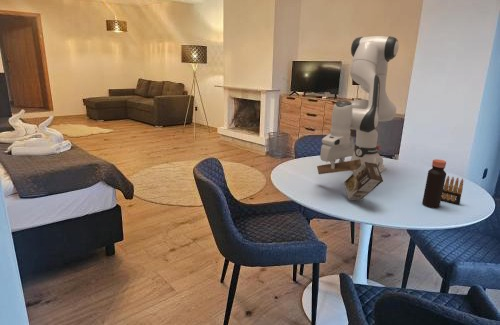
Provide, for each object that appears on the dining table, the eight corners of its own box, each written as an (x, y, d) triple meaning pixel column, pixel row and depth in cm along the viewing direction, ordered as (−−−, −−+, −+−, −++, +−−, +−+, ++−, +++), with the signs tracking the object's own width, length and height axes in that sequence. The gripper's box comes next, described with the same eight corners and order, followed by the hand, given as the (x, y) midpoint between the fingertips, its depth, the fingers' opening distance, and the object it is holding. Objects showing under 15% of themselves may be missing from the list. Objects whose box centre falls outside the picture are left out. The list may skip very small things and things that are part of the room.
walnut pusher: (324, 172, 165) (323, 164, 165) (362, 168, 148) (360, 159, 148) (316, 174, 161) (314, 166, 161) (353, 170, 144) (351, 161, 144)
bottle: (424, 200, 150) (432, 157, 145) (441, 205, 146) (450, 161, 141) (420, 205, 145) (428, 161, 140) (437, 210, 141) (447, 164, 135)
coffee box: (360, 201, 148) (383, 181, 136) (348, 199, 146) (370, 179, 134) (355, 183, 154) (377, 163, 142) (343, 181, 152) (364, 161, 140)
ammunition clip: (431, 199, 153) (436, 174, 149) (432, 197, 154) (437, 172, 151) (459, 205, 147) (465, 179, 143) (459, 204, 148) (465, 178, 144)
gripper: (347, 134, 160) (344, 162, 164) (319, 139, 147) (316, 169, 151) (359, 136, 155) (355, 165, 159) (330, 142, 143) (327, 173, 147)
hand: (336, 167), depth 155 cm, fingers closed on walnut pusher, 3 cm apart
